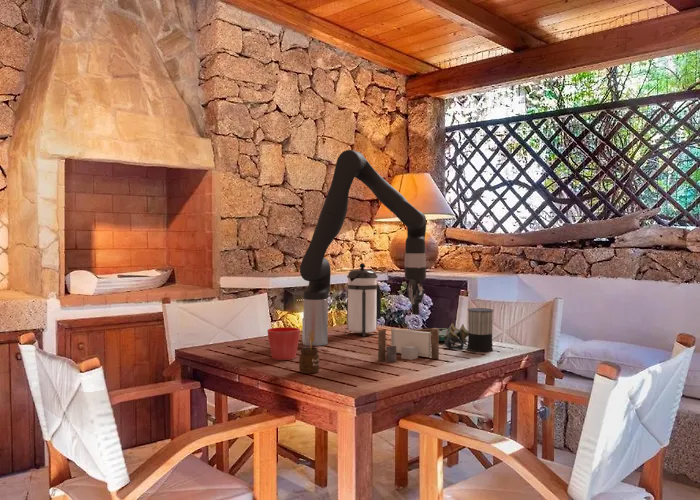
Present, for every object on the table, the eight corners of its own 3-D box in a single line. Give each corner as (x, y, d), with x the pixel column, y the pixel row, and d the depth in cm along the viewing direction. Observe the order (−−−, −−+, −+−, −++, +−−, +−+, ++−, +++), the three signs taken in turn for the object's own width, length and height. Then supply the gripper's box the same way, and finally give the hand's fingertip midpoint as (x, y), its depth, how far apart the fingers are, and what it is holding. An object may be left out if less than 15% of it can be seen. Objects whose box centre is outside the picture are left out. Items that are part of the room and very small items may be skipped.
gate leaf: (430, 356, 205) (431, 332, 205) (428, 357, 204) (428, 333, 204) (393, 351, 214) (393, 328, 214) (391, 352, 213) (391, 329, 213)
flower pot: (263, 356, 206) (263, 327, 206) (294, 354, 210) (294, 326, 210) (272, 362, 196) (272, 332, 196) (304, 359, 200) (304, 330, 200)
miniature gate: (398, 324, 261) (469, 321, 255) (399, 337, 261) (470, 335, 255) (390, 334, 234) (469, 331, 228) (391, 348, 234) (470, 345, 228)
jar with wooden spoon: (296, 373, 179) (296, 333, 179) (303, 369, 186) (303, 330, 185) (315, 374, 178) (315, 333, 178) (321, 370, 184) (321, 330, 184)
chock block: (411, 360, 201) (411, 347, 201) (401, 358, 203) (401, 346, 203) (417, 358, 204) (417, 346, 204) (407, 356, 207) (407, 345, 207)
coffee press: (383, 337, 248) (383, 263, 248) (344, 337, 248) (344, 263, 247) (380, 330, 265) (380, 262, 265) (344, 330, 265) (344, 262, 265)
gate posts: (380, 362, 196) (380, 331, 196) (377, 359, 200) (377, 329, 200) (441, 359, 201) (441, 329, 201) (437, 357, 205) (437, 327, 205)
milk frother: (498, 351, 217) (498, 310, 217) (458, 353, 212) (458, 311, 212) (478, 345, 230) (478, 306, 230) (440, 347, 226) (440, 307, 225)
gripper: (399, 265, 222) (399, 312, 223) (411, 266, 209) (411, 317, 210) (419, 265, 224) (419, 312, 224) (431, 266, 211) (431, 316, 211)
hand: (415, 314), depth 217 cm, fingers closed
